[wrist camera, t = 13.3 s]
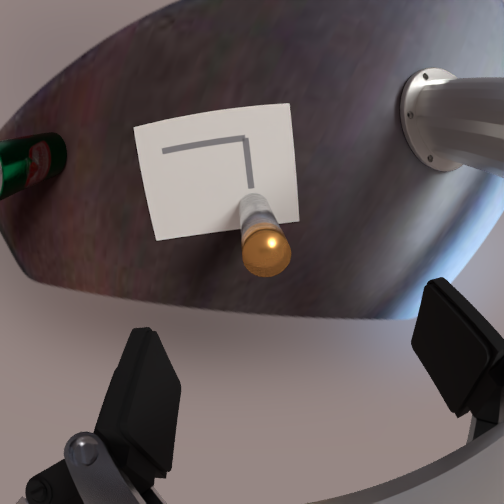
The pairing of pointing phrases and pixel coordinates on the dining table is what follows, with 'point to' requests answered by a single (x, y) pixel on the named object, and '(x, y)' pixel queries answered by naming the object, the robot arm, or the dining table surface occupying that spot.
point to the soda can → (30, 161)
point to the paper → (217, 168)
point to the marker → (262, 237)
